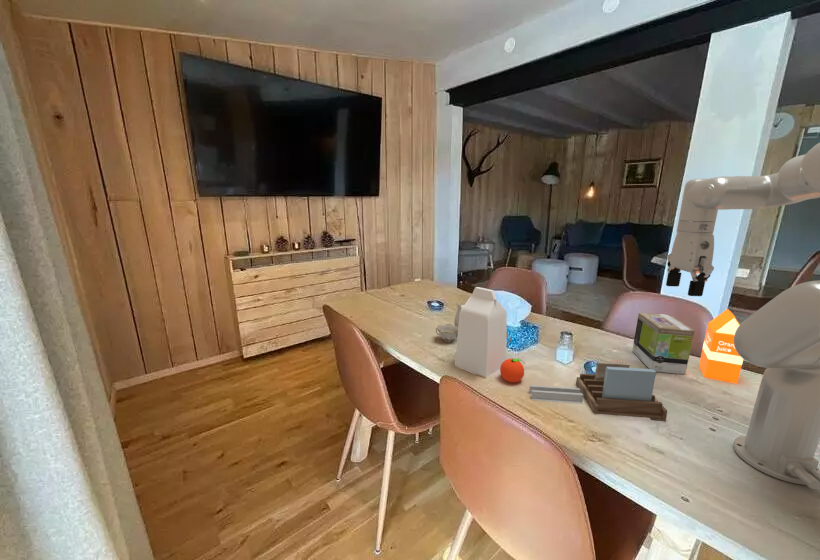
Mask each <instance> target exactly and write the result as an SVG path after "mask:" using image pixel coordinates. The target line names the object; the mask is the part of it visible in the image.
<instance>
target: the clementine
mask: <svg viewBox="0 0 820 560" xmlns="http://www.w3.org/2000/svg"><path fill="white" fill-rule="evenodd" d="M521 362H523V360H522V359H520V358H506V360H505V361H504V362H503V363H502V364H501V367H500V369H499V373H500V375H501V377H502V378H503V380H505V381H506V382H508V383H511V384H513V383H519V382H520V381H521V380H523V377H525V368H524V365H526V363H525V362H523V364H524V365H523V364H522V363H521Z"/></svg>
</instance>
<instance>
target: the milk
mask: <svg viewBox="0 0 820 560" xmlns="http://www.w3.org/2000/svg"><path fill="white" fill-rule="evenodd" d="M507 316H508V315H507V310H506V309H505V308H504V306H502V304H501V303H500V302H499V301H498V300H497V297H496V293H495V291H494V289H489V288H485V287H481V286H480V287H479V286H476V287H474V289H473V292H472V294H471V295H470V297H469V298H468V300H466V302H465V303H464V305H463V306H462V309H461V311H460V314H459V324H458V333H457V336H456V346H455V347H456V349H455V350H456V351H455V360H454V367H456V368H458V369H461V370H463V369H464V371H465V370H466V371H465V372H468V373H471V374H472V375H475V376H478V375H479V376H481V377H484V378H488V377H489V376H491V375H494V374H495V373H496V372H497V371H500V367H501V364H502V363H503V362H504V361H505V360H507V344H506V343H507V338H508V337H507V333H508V332H507V331H508V330H507V324H508V322H507V321H508V320H507V319H508V317H507Z"/></svg>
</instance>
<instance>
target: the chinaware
mask: <svg viewBox="0 0 820 560" xmlns="http://www.w3.org/2000/svg"><path fill="white" fill-rule="evenodd" d="M455 304H456V306H457V311H456V314H455V316H454V323H453V324H454V325H453V324H451V323H445V324H444V325H443V324H440V325H438V326H437V327H436V328H435V333H436V335H438V336H440V338H441V339H442V340H444V343H452V342H453V340H455V339H456V338H457V336H458V324H459V314H460V311H461V309H462V308H463V306H462V305H461V304H460V303H459V302H456V303H455ZM508 337H509V341H508V342H506V345H507V344H510V343H511V342H512V337H511V335H509V333H508V332H507V338H508Z"/></svg>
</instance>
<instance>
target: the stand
mask: <svg viewBox="0 0 820 560" xmlns="http://www.w3.org/2000/svg"><path fill="white" fill-rule="evenodd" d="M528 392H529V394H530V397H531V400H532V401H539V402H552V403H553V402H555V403H568V404H581V405H584V402H583V400H584V396H583V394H582V393H581V391H580V389H579V388H578V387H566V386H565V387H563V386H553V385H552V386H551V385H535V384H530V385H529V389H528Z"/></svg>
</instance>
